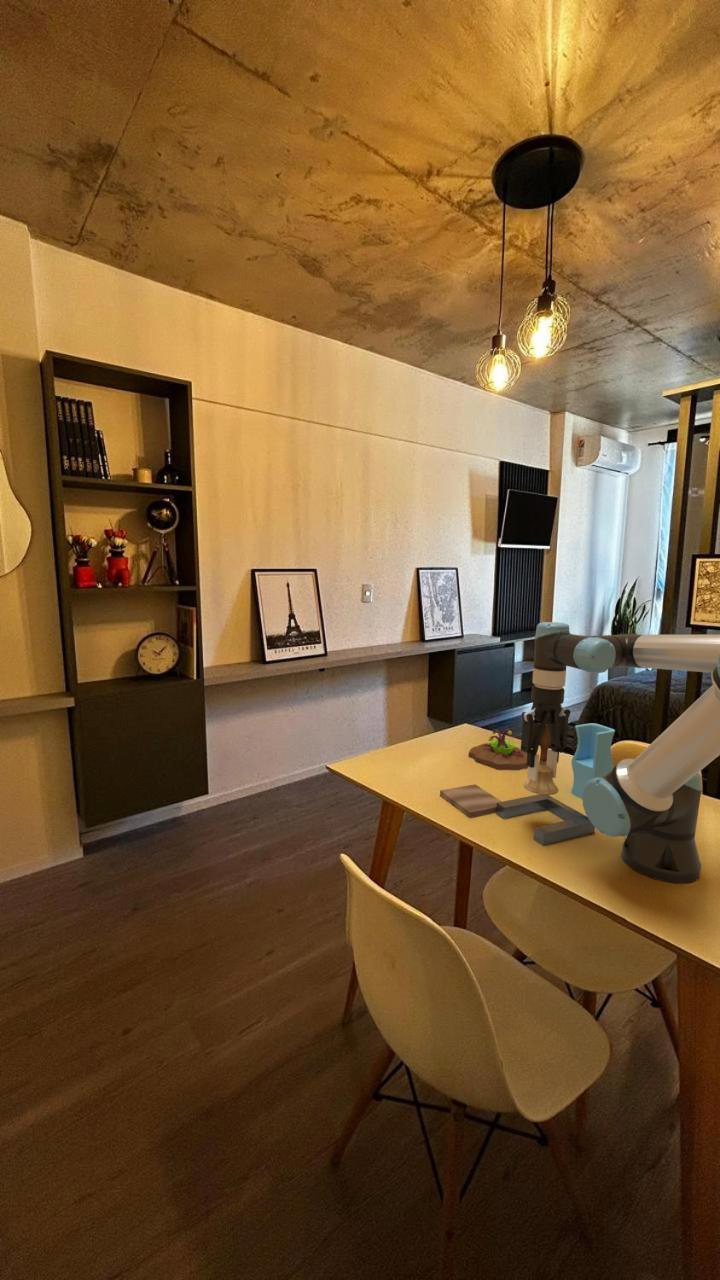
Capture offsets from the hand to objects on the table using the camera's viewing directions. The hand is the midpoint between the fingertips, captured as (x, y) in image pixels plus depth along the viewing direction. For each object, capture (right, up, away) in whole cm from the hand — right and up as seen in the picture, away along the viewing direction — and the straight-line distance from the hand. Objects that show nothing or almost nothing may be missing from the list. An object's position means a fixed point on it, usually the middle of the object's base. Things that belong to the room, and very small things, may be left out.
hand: (541, 777), depth 130 cm
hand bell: (0, -3, 0) cm, 3 cm away
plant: (+3, -7, +47) cm, 48 cm away
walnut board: (-14, -10, +13) cm, 22 cm away
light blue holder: (+21, -11, +20) cm, 31 cm away
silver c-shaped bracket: (+2, -12, +3) cm, 13 cm away
